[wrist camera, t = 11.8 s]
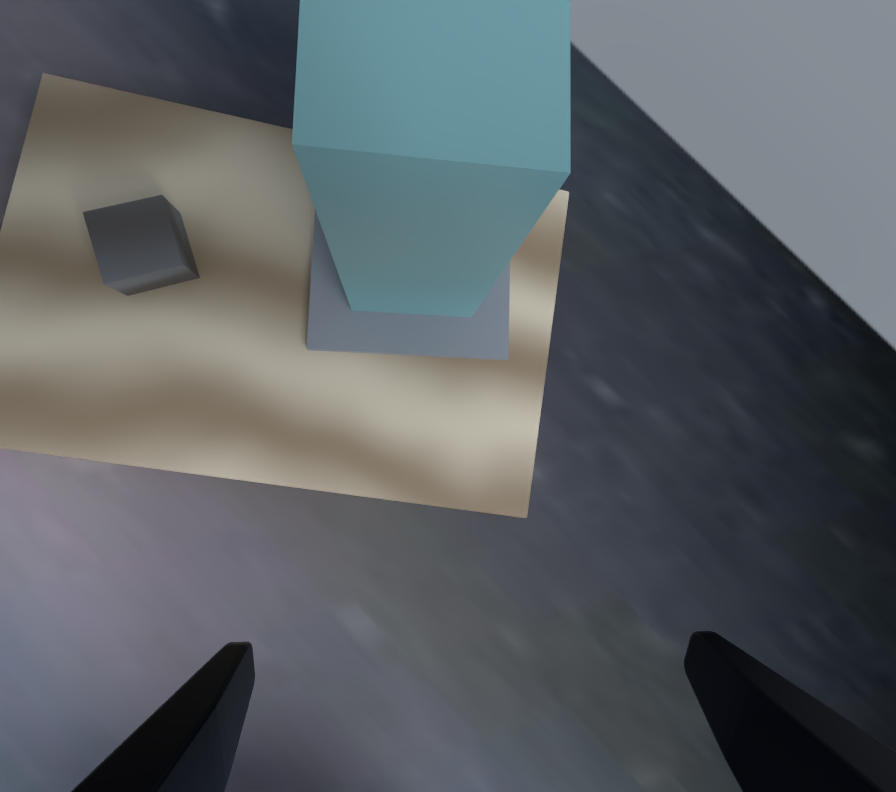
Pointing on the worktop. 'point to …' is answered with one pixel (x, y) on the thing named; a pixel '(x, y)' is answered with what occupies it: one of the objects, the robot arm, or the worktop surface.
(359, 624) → the worktop surface
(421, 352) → the coaster
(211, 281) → the board
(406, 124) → the tall teal block
